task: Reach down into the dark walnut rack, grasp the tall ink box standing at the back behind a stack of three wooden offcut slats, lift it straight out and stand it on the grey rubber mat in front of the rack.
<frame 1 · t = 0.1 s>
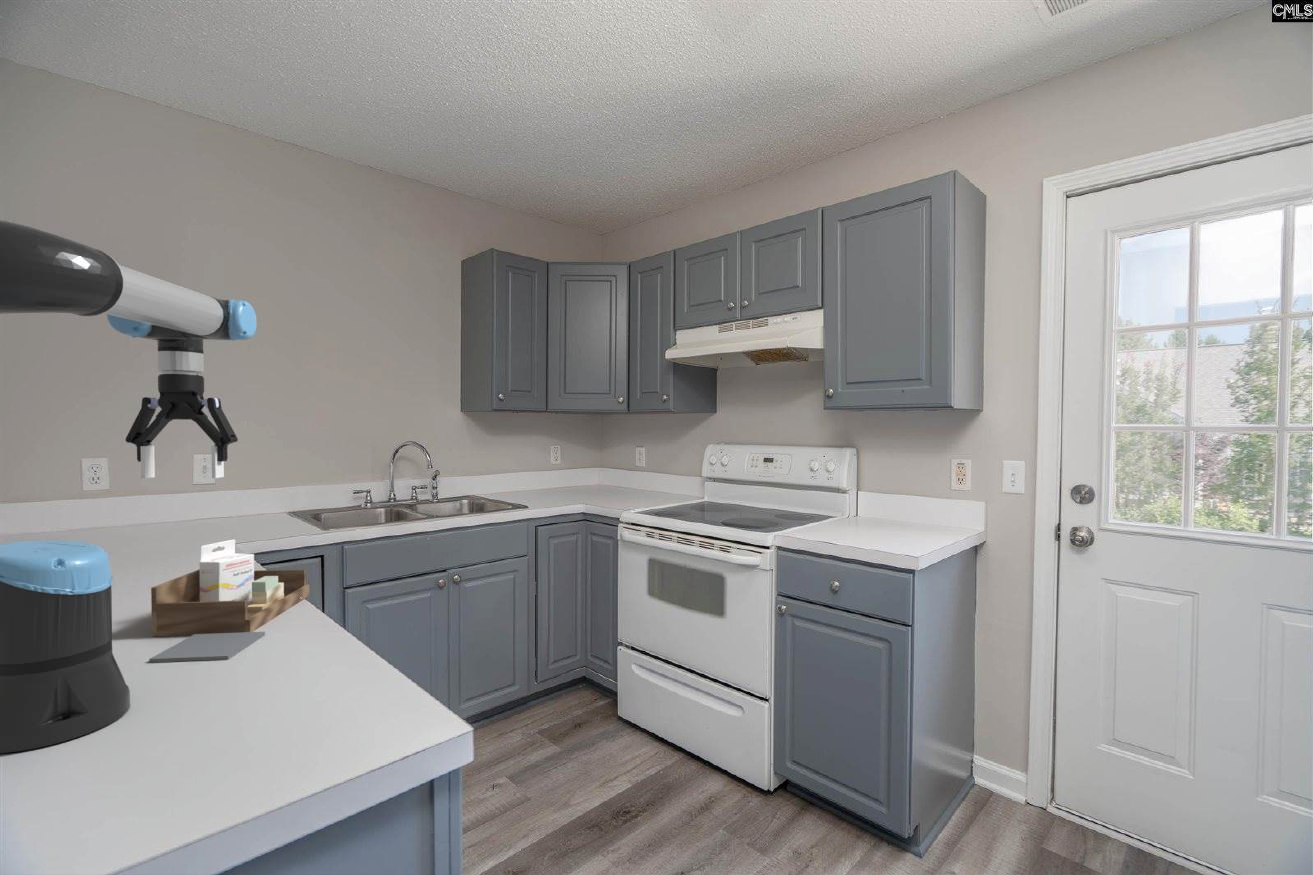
hand: (183, 477, 127), 28 cm above the worktop, fingers open, 13 cm apart
offcut bottom: (266, 614, 128), resting in rack, touching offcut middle
ink box: (228, 615, 127), resting in rack
rack: (239, 613, 127), on the worktop
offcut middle: (268, 599, 129), point 3 cm above the worktop, touching offcut bottom, offcut top
mat: (210, 647, 108), on the worktop
offcut top: (265, 588, 127), point 5 cm above the worktop, touching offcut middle
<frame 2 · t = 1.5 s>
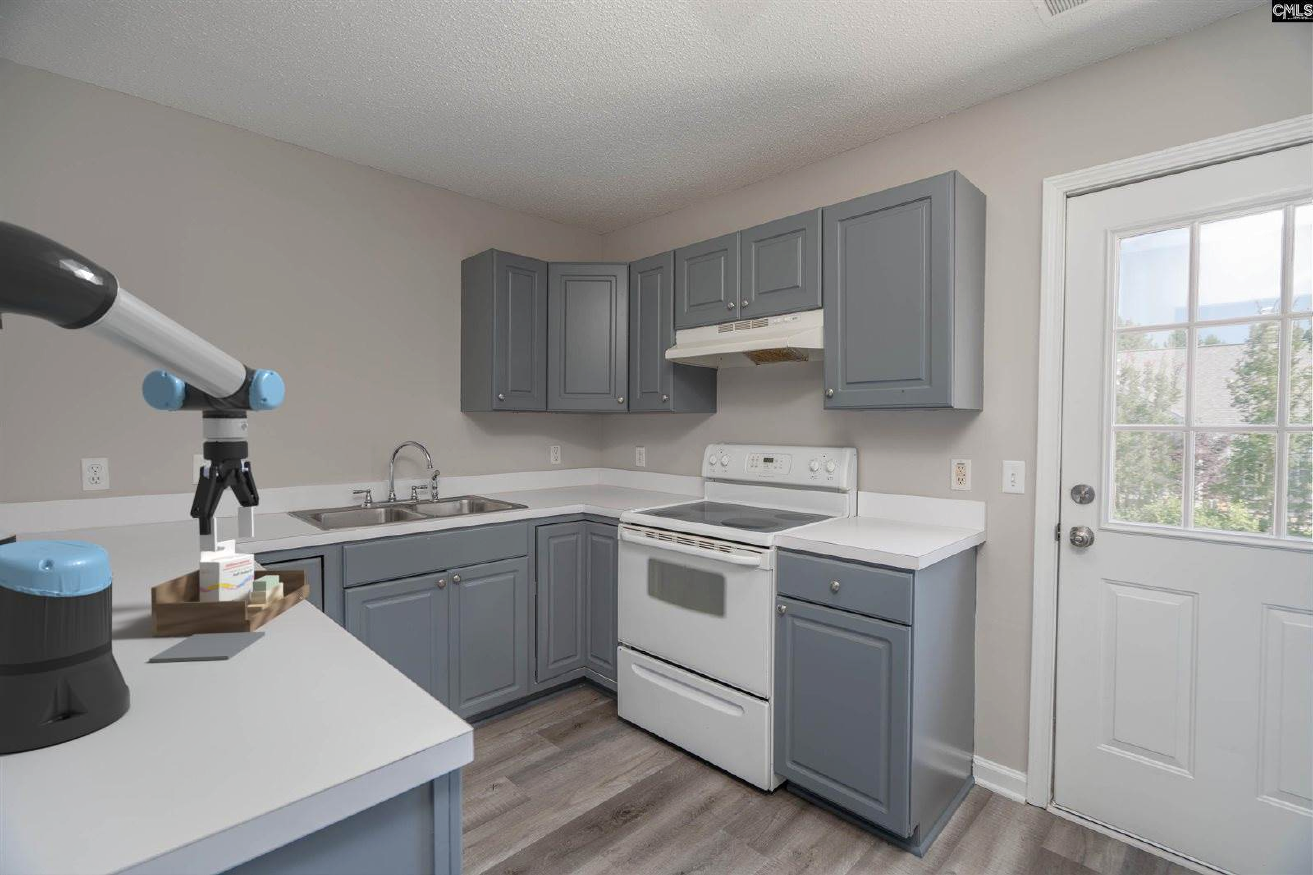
hand: (228, 543, 127), 14 cm above the worktop, fingers open, 13 cm apart
nothing on the worktop moved.
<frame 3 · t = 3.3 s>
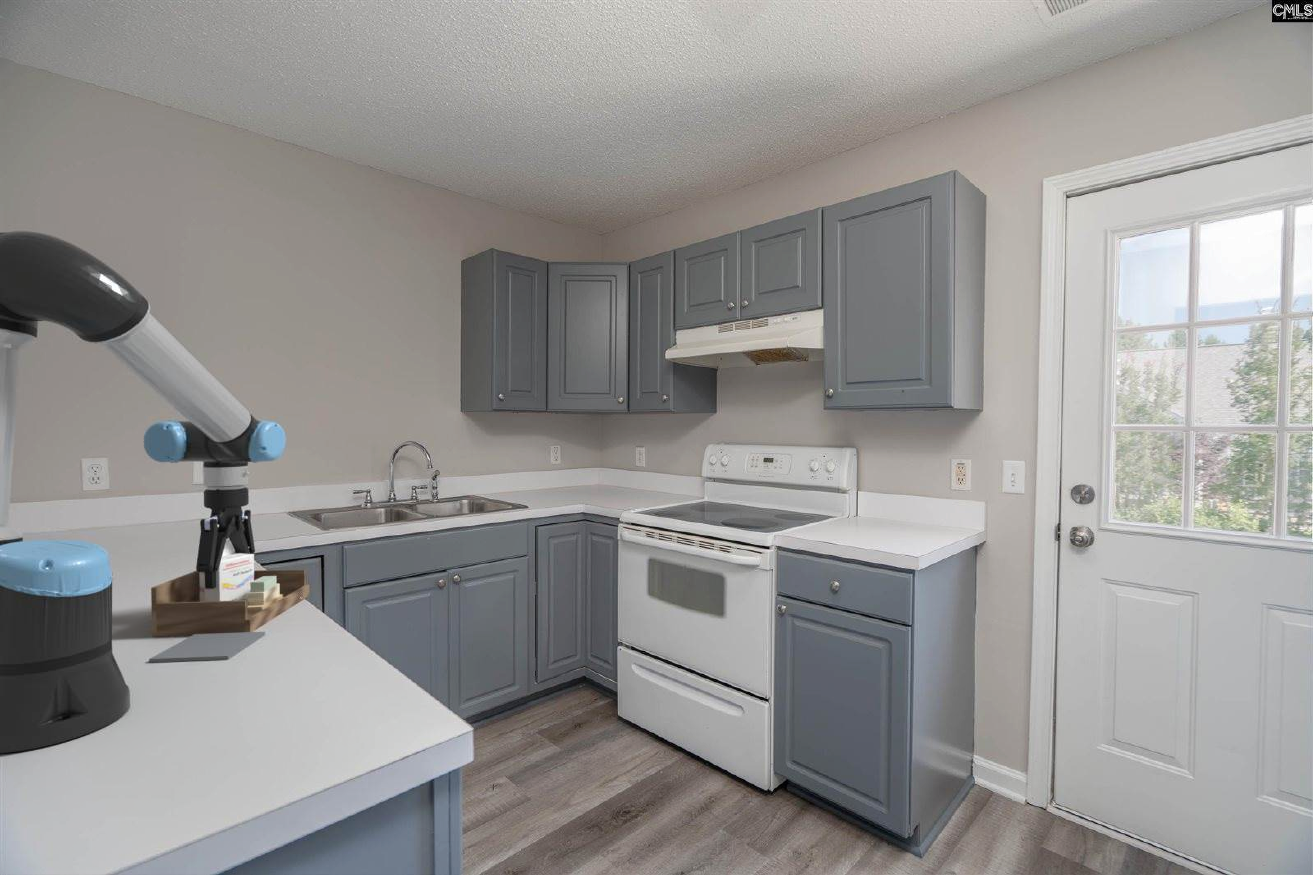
hand: (228, 596, 127), 4 cm above the worktop, fingers closed on ink box, 9 cm apart
ink box: (228, 615, 127), resting in rack, touching gripper
everything else where it was.
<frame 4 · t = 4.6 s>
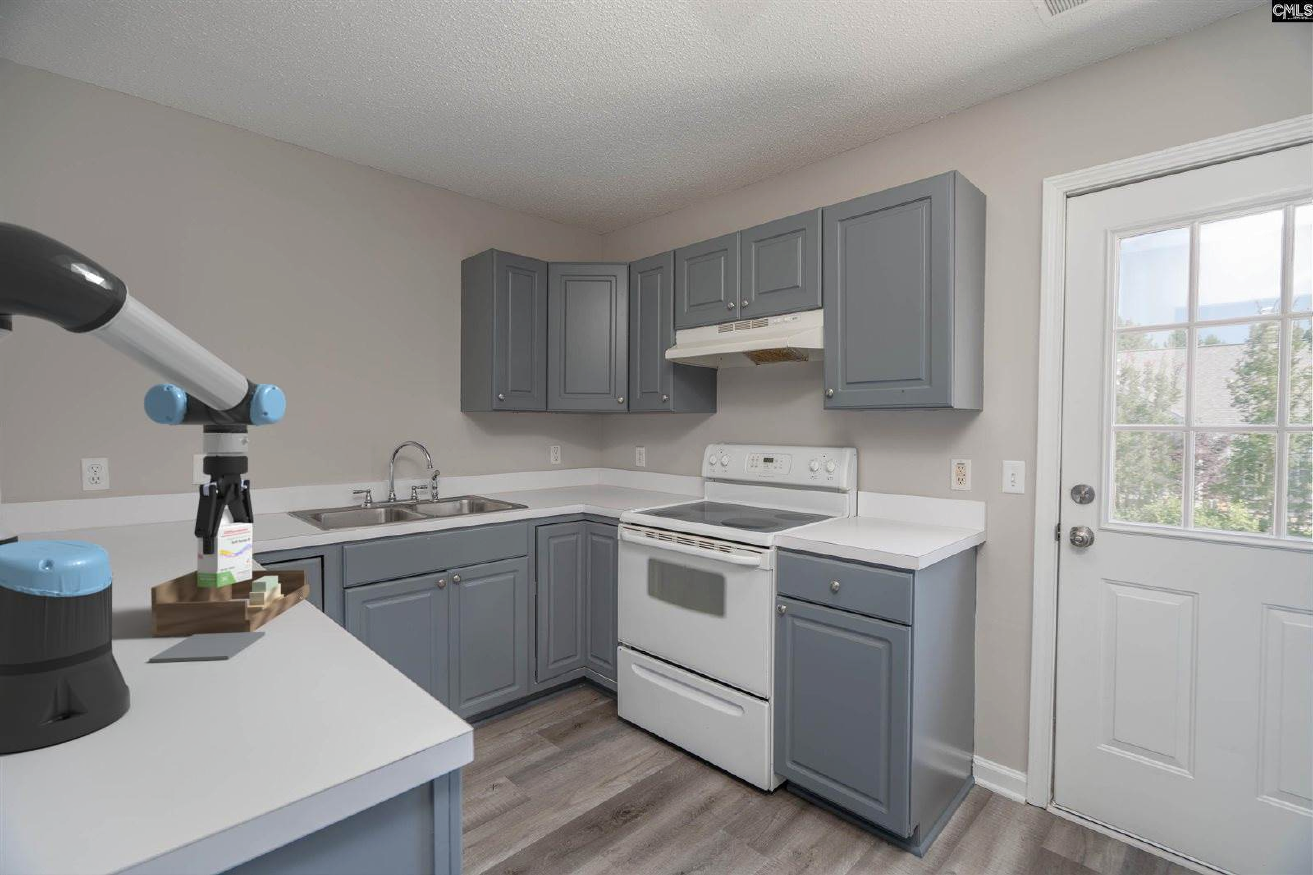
hand: (225, 565, 126), 10 cm above the worktop, fingers closed on ink box, 9 cm apart
ink box: (225, 583, 126), point 6 cm above the worktop, touching gripper
everything else where it was.
when the fingers open (6 cm above the worktop, at t = 10.7 s): ink box drops 2 cm, resting on mat.
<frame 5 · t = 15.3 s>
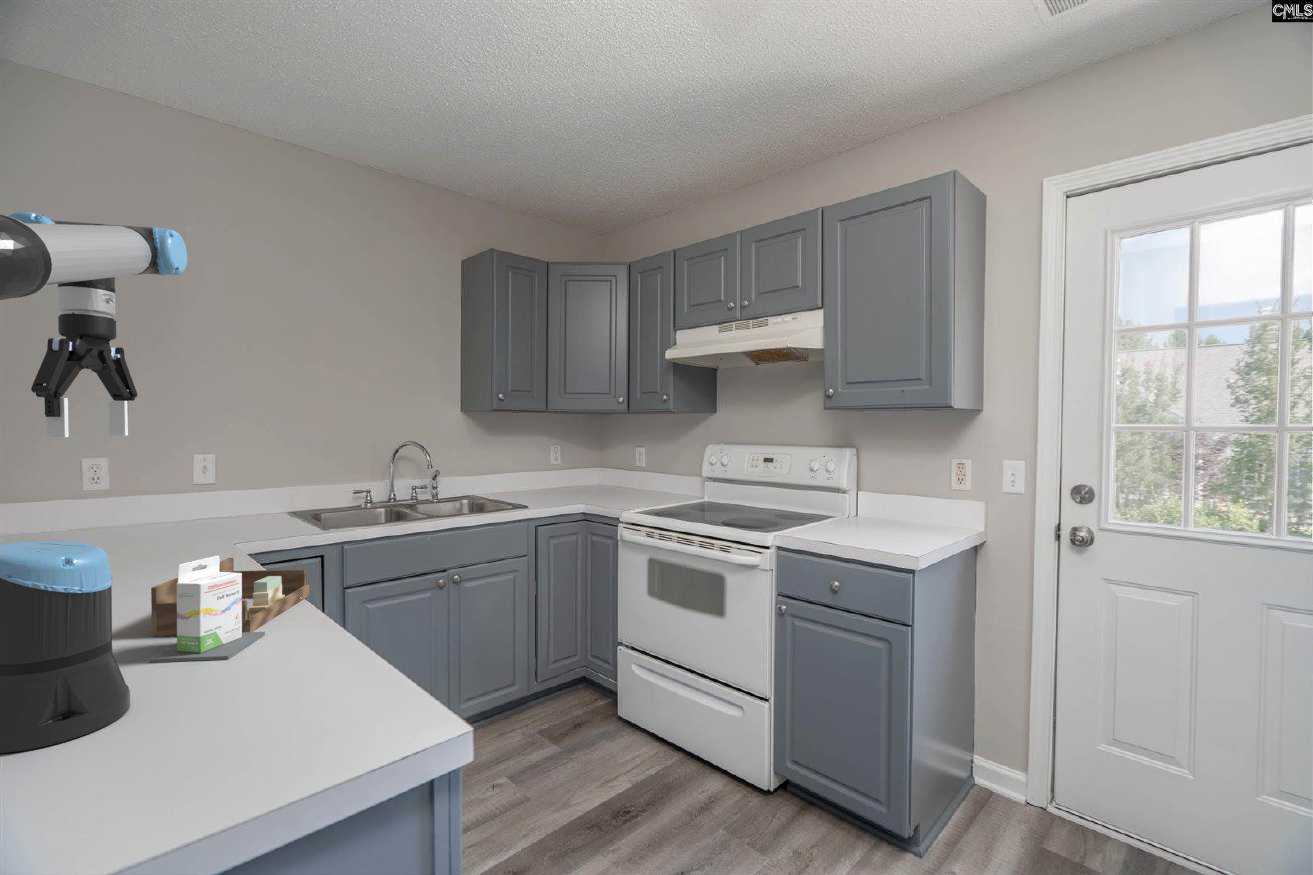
hand: (90, 436, 110), 37 cm above the worktop, fingers open, 13 cm apart
ink box: (211, 645, 108), resting on mat
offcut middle: (267, 600, 127), point 3 cm above the worktop, touching offcut bottom, offcut top
everything else where it was.
at the end: ink box inside the target area on the mat (0.1 cm from its centre), point 0.4 cm above the mat's base; ink box tilted 0°; the gripper is holding nothing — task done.
